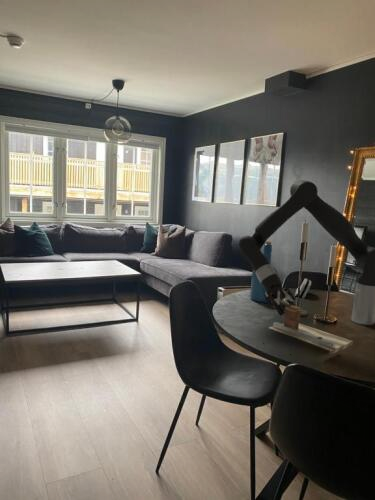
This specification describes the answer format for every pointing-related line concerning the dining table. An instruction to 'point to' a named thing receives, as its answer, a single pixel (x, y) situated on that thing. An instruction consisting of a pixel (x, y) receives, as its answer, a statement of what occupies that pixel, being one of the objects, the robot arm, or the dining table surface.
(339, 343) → the board
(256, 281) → the wine bottle
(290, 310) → the brown squarish block
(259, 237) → the robot arm
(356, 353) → the dining table surface
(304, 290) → the hinge
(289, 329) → the rail
